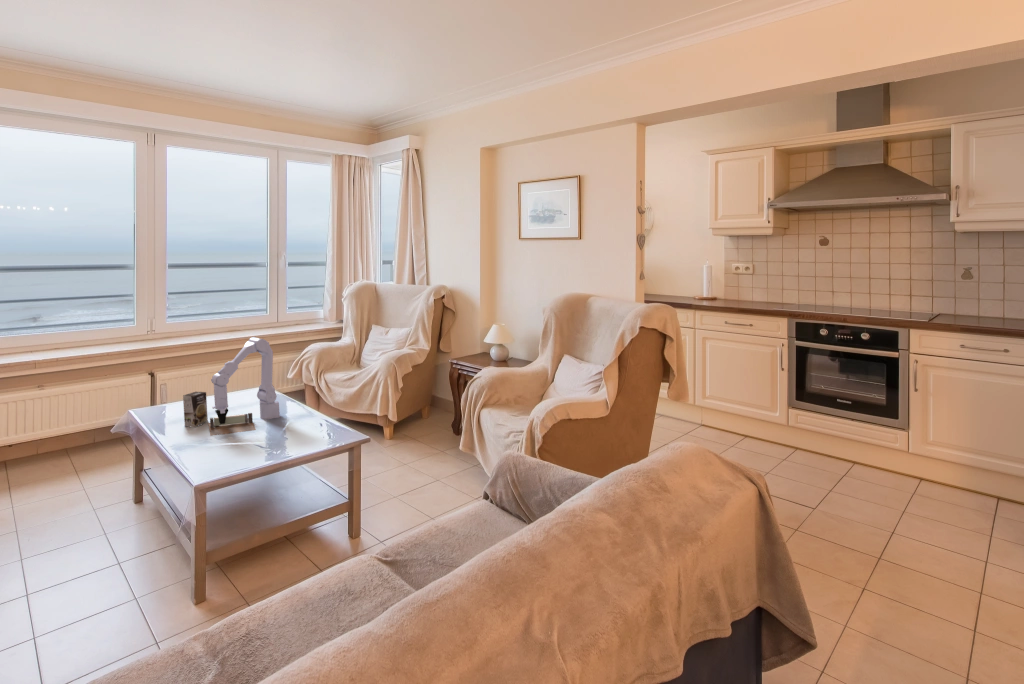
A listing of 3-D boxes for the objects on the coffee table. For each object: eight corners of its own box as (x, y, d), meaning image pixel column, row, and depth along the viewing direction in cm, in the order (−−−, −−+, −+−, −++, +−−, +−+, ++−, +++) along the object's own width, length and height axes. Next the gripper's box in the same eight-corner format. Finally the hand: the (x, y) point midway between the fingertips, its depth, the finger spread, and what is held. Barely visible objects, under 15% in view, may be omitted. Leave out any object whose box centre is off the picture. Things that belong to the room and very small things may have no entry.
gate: (247, 421, 288) (247, 413, 287) (248, 422, 286) (247, 414, 286) (214, 425, 280) (213, 417, 279) (214, 426, 279) (213, 418, 278)
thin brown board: (250, 419, 295) (250, 409, 294) (256, 431, 277) (255, 420, 276) (208, 424, 285) (207, 413, 284) (210, 437, 266) (209, 426, 265)
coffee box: (195, 427, 280) (193, 396, 277) (184, 426, 281) (182, 395, 278) (208, 422, 289) (206, 391, 286) (197, 421, 290) (195, 390, 287)
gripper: (210, 394, 281) (212, 420, 283) (212, 401, 269) (214, 428, 271) (226, 393, 285) (228, 418, 287) (229, 400, 273) (230, 426, 275)
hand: (222, 423), depth 279 cm, fingers closed
